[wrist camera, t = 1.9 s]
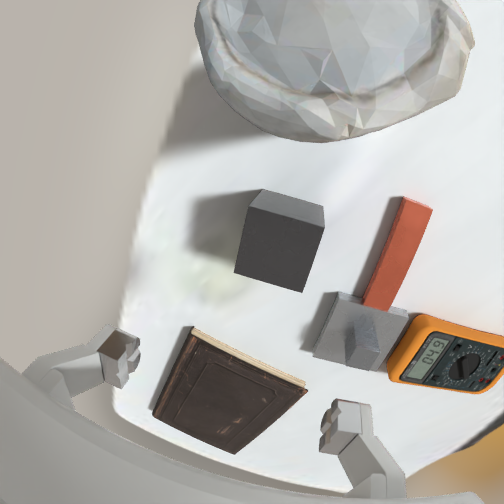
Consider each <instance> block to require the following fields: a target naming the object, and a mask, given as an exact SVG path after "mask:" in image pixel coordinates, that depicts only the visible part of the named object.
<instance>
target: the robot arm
mask: <svg viewBox="0 0 504 504" xmlns="http://www.w3.org/2000/svg"><path fill="white" fill-rule="evenodd" d="M139 345H140V339H139V338H138V337H136V336H134V335H131V334H129V333H127V332H125V331H123V330H121V329H119V328H116V327H114V326H112V325H110V324H107V325H105V326H104V327H103V328H102V329H101V330H100V331H99V332H98V333H97V334H96V336H94V338H93V339H92V340H91V341H90V342H89V343H88V344H87V345H86V346H85V345H79V346H76V347H72V348H69V349H65V350H62V351H58V352H54V353H51V354H47V355H44V356H40V357H38V358H37V359H36V360H35V361H34V362H33V363H32V364H31V365H30V366H29V367H28V368H27V369H26V370H25V371H24V372H23V373H22V374H20V373H19V372H18V371H17V370H15V369H14V368H13V367H12V366H10V365H9V364H8V363H7V362H6V361H4V360H3V359H2V358H1V357H0V504H484V503H483V501H482V500H481V499H480V498H479V497H478V496H477V495H476V494H475V493H474V492H463V493H456V494H449V495H441V496H432V497H421V498H407V497H406V482H405V473H404V472H403V471H402V469H401V468H400V467H399V465H398V464H397V463H396V461H395V460H394V459H393V457H392V456H391V455H390V453H389V452H388V451H387V449H386V448H385V447H384V445H383V444H382V443H381V441H380V440H379V439H378V437H377V436H374V433H373V421H372V410H371V406H370V404H364V403H358V402H353V401H348V400H342V399H337V398H336V399H335V400H334V401H333V402H332V404H331V408H330V409H328V410H327V411H326V412H325V414H324V416H323V419H322V422H321V429H320V430H321V432H322V433H323V435H322V437H321V438H320V443H319V452H322V453H327V454H333V455H338V458H339V460H340V462H341V464H342V466H343V468H344V470H345V472H346V474H347V476H348V478H349V480H350V482H351V484H352V486H353V489H352V490H350V491H349V492H348V493H346V494H345V495H343V496H342V497H331V496H322V495H313V494H306V493H298V492H292V491H286V490H281V489H276V488H271V487H266V486H261V485H257V484H252V483H248V482H244V481H240V480H236V479H232V478H229V477H225V476H221V475H218V474H215V473H212V472H209V471H205V470H202V469H199V468H196V467H193V466H190V465H188V464H185V463H182V462H179V461H177V460H174V459H171V458H169V457H166V456H164V455H161V454H159V453H156V452H154V451H152V450H149V449H147V448H145V447H143V446H140V445H138V444H136V443H134V442H132V441H129V440H127V439H125V438H123V437H121V436H119V435H117V434H115V433H113V432H111V431H109V430H108V429H105V428H104V427H102V426H100V425H98V424H96V423H95V422H93V421H91V420H89V419H88V418H86V417H84V416H82V415H81V414H79V413H77V412H76V411H75V407H74V404H73V402H72V399H71V398H72V397H74V396H76V395H78V394H80V393H83V392H85V391H87V390H89V389H91V388H93V387H95V386H98V385H100V384H102V383H104V381H105V382H107V383H109V384H111V385H113V386H115V387H118V388H120V389H122V388H123V387H124V385H125V384H126V382H127V381H128V379H129V373H132V372H134V371H135V369H136V368H137V366H138V363H139V361H140V351H139V349H138V347H139Z"/></svg>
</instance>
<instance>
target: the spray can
mask: <svg viewBox="0 0 504 504" xmlns="http://www.w3.org/2000/svg"><path fill="white" fill-rule="evenodd" d="M194 27H195V33H196V35H197V39H198V42H199V46H200V50H201V54H202V57H203V61H204V65H205V68H206V70H207V73H208V76H209V79H210V82H211V83H212V85H213V86H214V88H215V89H216V91H217V92H218V94H219V95H220V96H221V97H222V98H223V99H224V100H225V101H226V102H227V103H228V105H229V106H230V107H231V108H232V109H233V110H234V111H236V112H237V113H238V114H240V115H241V116H242V117H244V118H245V119H246V120H248V121H249V122H251V123H252V124H254V125H255V126H257V127H258V128H259V129H261V130H263V131H265V132H268V133H270V134H273V135H275V136H278V137H281V138H286V139H291V140H295V141H300V142H313V143H326V142H334V141H340V140H345V139H350V138H355V137H360V136H362V135H365V134H368V133H371V132H375V131H379V130H382V129H384V128H387V127H389V126H391V125H394V124H396V123H399V122H401V121H404V120H406V119H409V118H411V117H414V116H416V115H418V114H420V113H422V112H424V111H426V110H428V109H431V108H433V107H435V106H437V105H439V104H441V103H443V102H445V101H447V100H449V99H451V98H452V97H454V96H455V95H456V94H457V93H458V92H459V90H460V89H461V85H462V81H463V78H464V74H465V70H466V66H467V62H468V58H469V54H470V50H471V49H472V48H473V47H474V45H475V41H474V37H473V34H472V30H471V27H470V24H469V22H468V20H467V18H466V16H465V14H464V12H463V10H462V9H461V7H460V5H459V4H458V3H457V1H456V0H201V1H200V2H199V5H198V6H197V12H196V18H195V23H194Z"/></svg>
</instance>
